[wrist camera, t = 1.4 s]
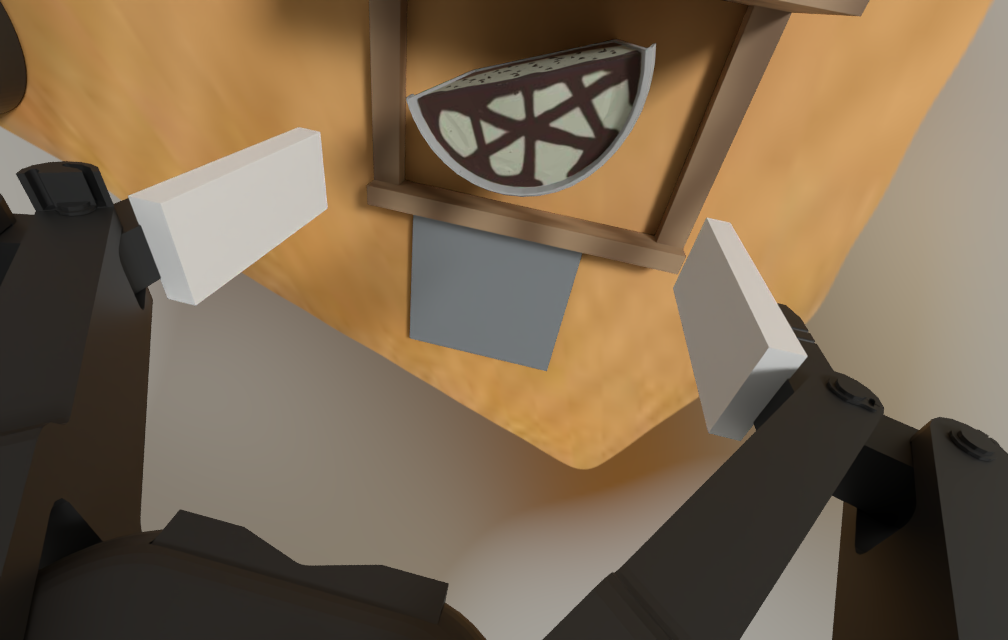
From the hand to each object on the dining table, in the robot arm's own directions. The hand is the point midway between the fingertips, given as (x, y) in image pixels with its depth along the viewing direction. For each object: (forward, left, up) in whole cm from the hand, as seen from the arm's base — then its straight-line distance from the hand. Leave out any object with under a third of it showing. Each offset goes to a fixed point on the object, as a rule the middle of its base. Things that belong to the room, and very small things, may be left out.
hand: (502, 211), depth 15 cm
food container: (0, 0, -19) cm, 19 cm away
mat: (-2, -16, -18) cm, 24 cm away
